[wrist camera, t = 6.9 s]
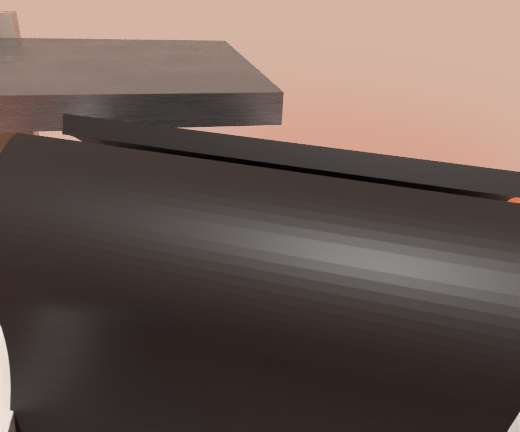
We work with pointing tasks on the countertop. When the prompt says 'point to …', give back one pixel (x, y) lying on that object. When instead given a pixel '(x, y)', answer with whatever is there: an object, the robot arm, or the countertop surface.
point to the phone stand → (254, 285)
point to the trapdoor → (131, 84)
